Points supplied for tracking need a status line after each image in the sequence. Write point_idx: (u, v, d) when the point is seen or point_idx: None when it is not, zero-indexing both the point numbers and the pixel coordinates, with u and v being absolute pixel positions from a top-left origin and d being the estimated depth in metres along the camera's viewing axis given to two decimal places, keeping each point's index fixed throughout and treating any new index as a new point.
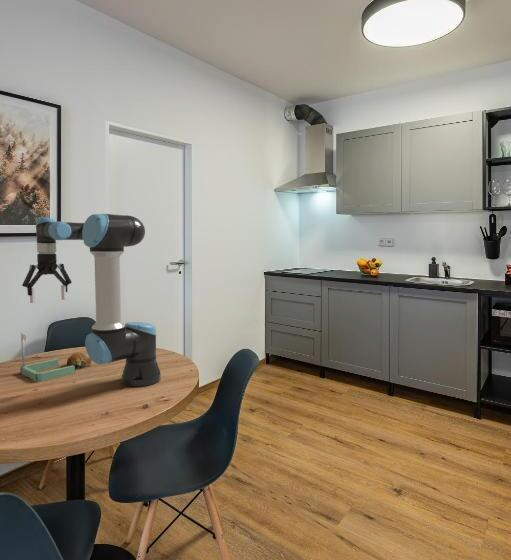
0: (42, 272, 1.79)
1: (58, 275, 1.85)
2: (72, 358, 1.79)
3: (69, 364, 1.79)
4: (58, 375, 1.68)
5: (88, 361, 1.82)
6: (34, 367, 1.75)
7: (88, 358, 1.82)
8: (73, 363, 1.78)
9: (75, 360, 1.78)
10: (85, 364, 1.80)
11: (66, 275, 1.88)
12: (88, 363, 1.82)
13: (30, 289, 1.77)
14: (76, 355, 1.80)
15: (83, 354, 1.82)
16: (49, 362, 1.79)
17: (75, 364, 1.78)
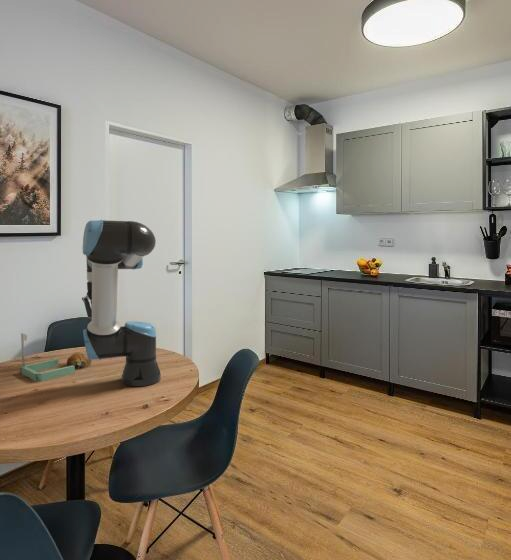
0: None
1: None
2: (72, 358, 1.79)
3: (69, 364, 1.78)
4: (58, 375, 1.68)
5: (88, 361, 1.82)
6: (34, 367, 1.75)
7: (88, 358, 1.82)
8: (73, 363, 1.78)
9: (75, 360, 1.78)
10: (85, 364, 1.80)
11: None
12: (88, 363, 1.81)
13: None
14: (76, 355, 1.80)
15: (83, 354, 1.82)
16: (49, 362, 1.79)
17: (75, 364, 1.78)
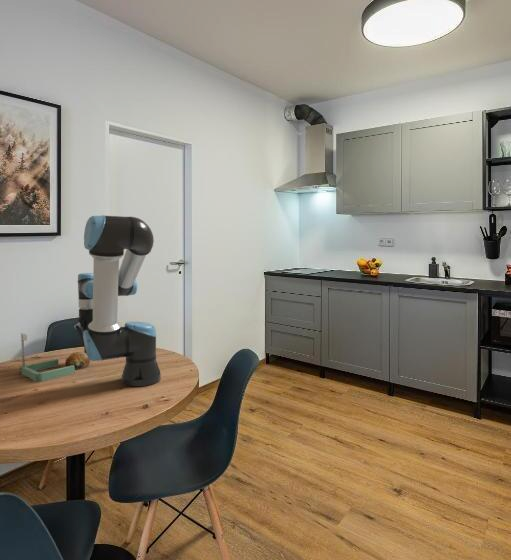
0: (87, 328, 1.83)
1: None
2: (70, 358, 1.79)
3: (67, 364, 1.78)
4: (58, 375, 1.68)
5: (87, 361, 1.81)
6: (34, 367, 1.75)
7: (87, 358, 1.82)
8: (71, 363, 1.77)
9: (73, 360, 1.78)
10: (83, 364, 1.80)
11: None
12: (87, 363, 1.81)
13: None
14: (74, 355, 1.80)
15: (82, 354, 1.82)
16: (49, 362, 1.79)
17: (73, 364, 1.77)
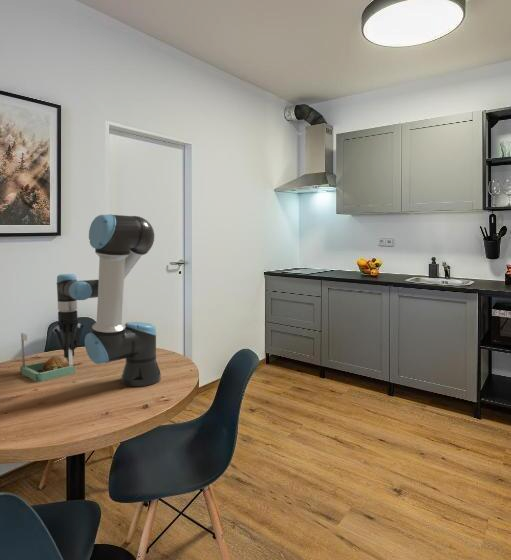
0: (67, 331, 1.76)
1: (72, 335, 1.79)
2: (48, 363, 1.72)
3: (45, 369, 1.71)
4: (58, 375, 1.68)
5: (65, 366, 1.74)
6: (34, 367, 1.75)
7: (66, 363, 1.75)
8: (49, 368, 1.70)
9: (51, 365, 1.71)
10: None
11: (78, 337, 1.81)
12: None
13: (67, 351, 1.78)
14: (53, 360, 1.73)
15: (60, 359, 1.75)
16: None
17: (51, 369, 1.71)
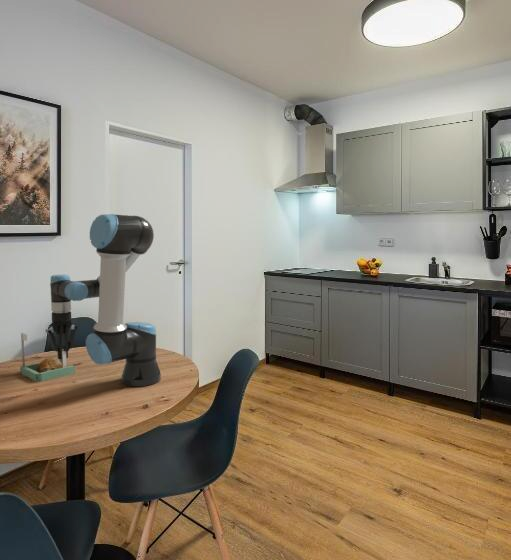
0: (60, 333, 1.74)
1: (66, 337, 1.76)
2: (41, 365, 1.69)
3: (38, 371, 1.69)
4: (58, 375, 1.68)
5: None
6: (34, 367, 1.75)
7: (59, 365, 1.73)
8: (42, 370, 1.68)
9: (44, 367, 1.69)
10: None
11: (72, 338, 1.79)
12: None
13: (60, 353, 1.75)
14: (46, 361, 1.71)
15: (54, 360, 1.73)
16: None
17: (44, 371, 1.68)
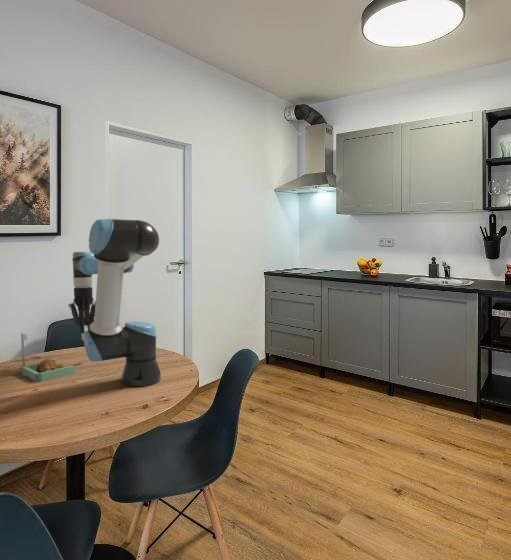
0: (82, 307, 1.80)
1: (88, 311, 1.83)
2: (41, 365, 1.69)
3: (38, 371, 1.69)
4: (58, 375, 1.68)
5: None
6: (34, 367, 1.75)
7: (59, 365, 1.72)
8: (42, 370, 1.68)
9: (44, 367, 1.69)
10: None
11: (93, 313, 1.85)
12: None
13: (82, 327, 1.82)
14: (46, 362, 1.70)
15: (54, 360, 1.72)
16: None
17: (44, 371, 1.68)
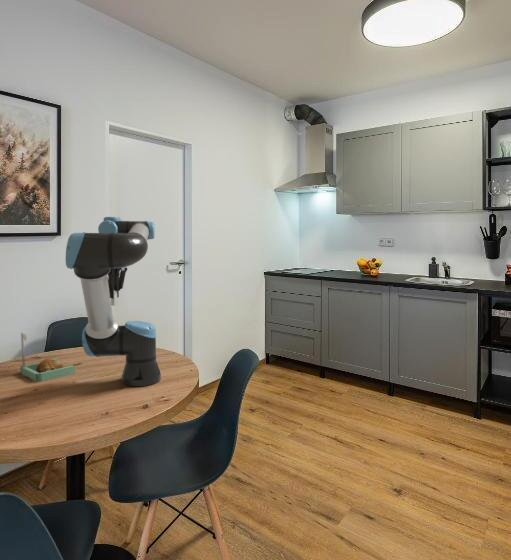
0: (112, 272, 1.82)
1: (117, 277, 1.84)
2: (41, 365, 1.69)
3: (38, 371, 1.69)
4: (58, 375, 1.68)
5: None
6: (34, 367, 1.75)
7: (59, 365, 1.72)
8: (42, 370, 1.68)
9: (44, 367, 1.68)
10: None
11: (122, 279, 1.86)
12: None
13: (112, 292, 1.83)
14: (46, 362, 1.70)
15: (53, 361, 1.72)
16: None
17: (44, 371, 1.68)
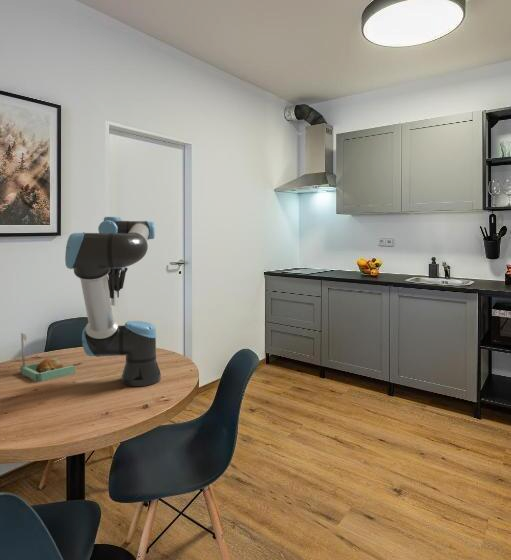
0: (113, 272, 1.82)
1: (117, 277, 1.84)
2: (41, 365, 1.69)
3: (38, 371, 1.68)
4: (58, 375, 1.68)
5: None
6: (34, 367, 1.75)
7: (59, 365, 1.72)
8: (42, 370, 1.68)
9: (44, 367, 1.68)
10: None
11: (123, 279, 1.86)
12: None
13: (112, 292, 1.83)
14: (46, 362, 1.70)
15: (53, 361, 1.72)
16: None
17: (44, 371, 1.68)
